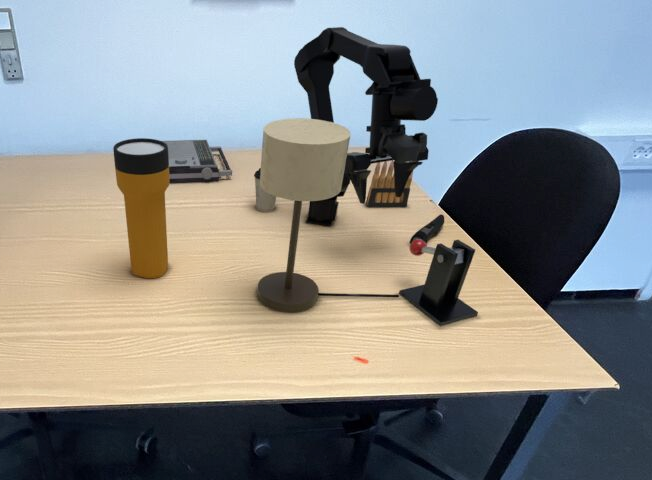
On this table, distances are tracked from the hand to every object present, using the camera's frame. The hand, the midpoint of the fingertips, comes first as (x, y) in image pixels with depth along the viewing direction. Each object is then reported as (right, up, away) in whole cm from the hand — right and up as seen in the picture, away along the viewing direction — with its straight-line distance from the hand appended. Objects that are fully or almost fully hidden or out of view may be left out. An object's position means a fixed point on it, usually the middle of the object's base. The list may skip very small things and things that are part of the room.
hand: (380, 200), depth 111 cm
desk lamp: (-13, -21, -6) cm, 26 cm away
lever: (+7, -15, -11) cm, 20 cm away
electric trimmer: (+16, -4, +15) cm, 23 cm away
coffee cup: (-22, +6, +27) cm, 35 cm away
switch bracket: (+8, -23, -9) cm, 26 cm away
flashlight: (-49, -15, +1) cm, 51 cm away
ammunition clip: (+10, +7, +29) cm, 32 cm away
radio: (-42, +25, +49) cm, 69 cm away
